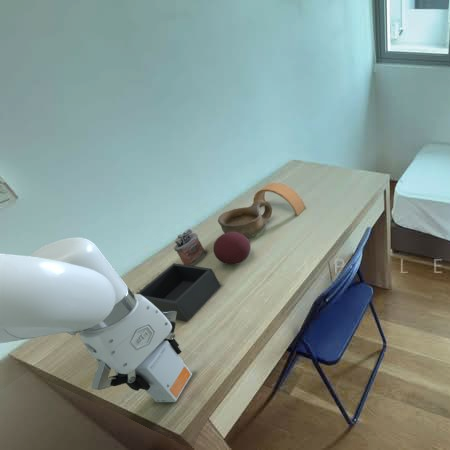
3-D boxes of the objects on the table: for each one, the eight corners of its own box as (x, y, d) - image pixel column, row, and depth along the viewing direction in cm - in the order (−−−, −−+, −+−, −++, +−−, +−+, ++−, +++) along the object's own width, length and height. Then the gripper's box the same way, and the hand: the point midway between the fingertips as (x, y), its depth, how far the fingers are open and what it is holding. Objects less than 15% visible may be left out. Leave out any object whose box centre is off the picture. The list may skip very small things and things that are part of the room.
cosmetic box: (176, 402, 61) (146, 369, 54) (155, 402, 61) (122, 369, 55) (194, 373, 66) (168, 339, 59) (174, 373, 66) (146, 339, 60)
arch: (297, 216, 117) (291, 193, 111) (254, 208, 123) (246, 186, 117) (305, 208, 121) (300, 185, 116) (264, 201, 127) (257, 179, 122)
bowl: (250, 210, 119) (248, 188, 113) (281, 224, 117) (280, 203, 111) (212, 235, 106) (207, 213, 99) (246, 252, 104) (243, 230, 97)
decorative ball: (261, 253, 99) (251, 227, 94) (240, 274, 92) (228, 248, 86) (236, 248, 102) (225, 223, 96) (213, 268, 94) (199, 242, 88)
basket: (187, 322, 78) (174, 303, 74) (146, 314, 80) (132, 296, 76) (221, 286, 88) (211, 268, 84) (184, 280, 90) (173, 263, 86)
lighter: (191, 268, 94) (177, 243, 89) (181, 267, 95) (166, 242, 89) (208, 251, 101) (196, 227, 95) (199, 251, 101) (186, 226, 96)
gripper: (65, 361, 42) (134, 420, 52) (169, 273, 56) (207, 334, 66) (25, 351, 44) (100, 411, 54) (135, 268, 57) (178, 328, 68)
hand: (159, 368), depth 60 cm, fingers closed on cosmetic box, 6 cm apart
